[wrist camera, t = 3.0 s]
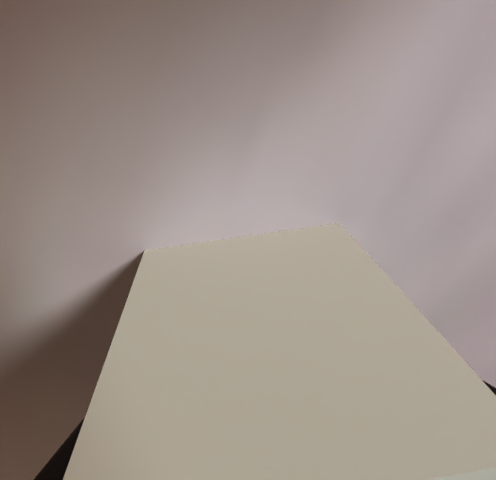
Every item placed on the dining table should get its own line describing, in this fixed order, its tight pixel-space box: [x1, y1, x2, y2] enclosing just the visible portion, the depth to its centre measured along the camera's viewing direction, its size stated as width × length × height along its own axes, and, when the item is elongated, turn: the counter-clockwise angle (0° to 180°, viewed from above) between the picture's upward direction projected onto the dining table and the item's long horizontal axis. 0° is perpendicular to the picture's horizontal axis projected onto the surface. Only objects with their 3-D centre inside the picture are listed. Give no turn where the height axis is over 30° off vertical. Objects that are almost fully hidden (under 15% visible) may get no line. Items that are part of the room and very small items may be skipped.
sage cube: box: [63, 223, 496, 480], centre depth 7 cm, size 5×5×6 cm
